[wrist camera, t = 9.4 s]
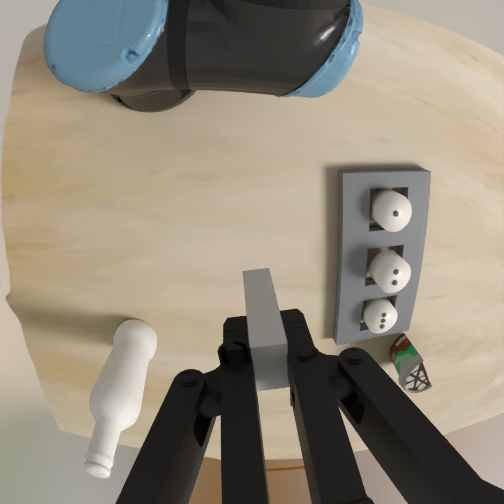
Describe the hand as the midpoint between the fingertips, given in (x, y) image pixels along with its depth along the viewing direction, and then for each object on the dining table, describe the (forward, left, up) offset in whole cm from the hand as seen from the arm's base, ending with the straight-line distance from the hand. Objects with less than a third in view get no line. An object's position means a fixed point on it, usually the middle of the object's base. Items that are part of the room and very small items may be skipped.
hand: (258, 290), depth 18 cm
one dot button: (+5, +23, -29) cm, 37 cm away
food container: (+39, +31, -30) cm, 58 cm away
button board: (+15, +23, -29) cm, 40 cm away
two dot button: (+15, +23, -27) cm, 39 cm away
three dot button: (+25, +23, -29) cm, 45 cm away
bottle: (+25, -22, -30) cm, 45 cm away
